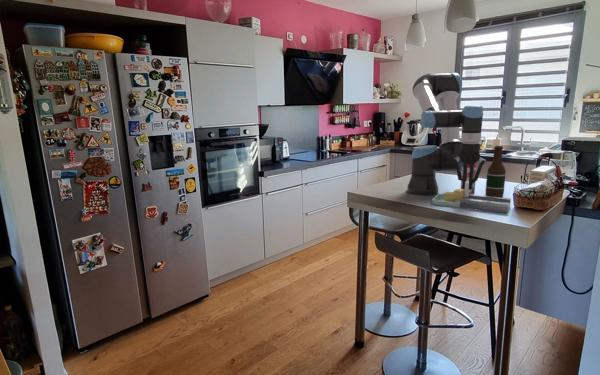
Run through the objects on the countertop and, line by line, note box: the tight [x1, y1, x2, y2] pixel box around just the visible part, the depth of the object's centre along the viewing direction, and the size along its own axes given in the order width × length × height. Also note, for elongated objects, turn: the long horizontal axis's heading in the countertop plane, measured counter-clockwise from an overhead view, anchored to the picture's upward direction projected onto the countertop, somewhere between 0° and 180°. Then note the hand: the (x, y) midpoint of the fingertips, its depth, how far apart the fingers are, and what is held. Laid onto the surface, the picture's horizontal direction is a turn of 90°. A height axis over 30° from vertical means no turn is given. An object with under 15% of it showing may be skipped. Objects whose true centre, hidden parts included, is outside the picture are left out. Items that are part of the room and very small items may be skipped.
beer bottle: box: [484, 145, 507, 198], centre depth 169 cm, size 8×8×24 cm
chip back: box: [444, 191, 456, 202], centre depth 163 cm, size 4×4×4 cm
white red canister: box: [460, 162, 478, 195], centre depth 172 cm, size 6×6×16 cm
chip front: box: [453, 188, 465, 200], centre depth 160 cm, size 4×4×4 cm
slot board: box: [460, 194, 512, 214], centre depth 155 cm, size 18×11×4 cm, turn 56°
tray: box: [430, 193, 461, 209], centre depth 163 cm, size 12×12×2 cm
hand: (466, 196), depth 158 cm, fingers closed
